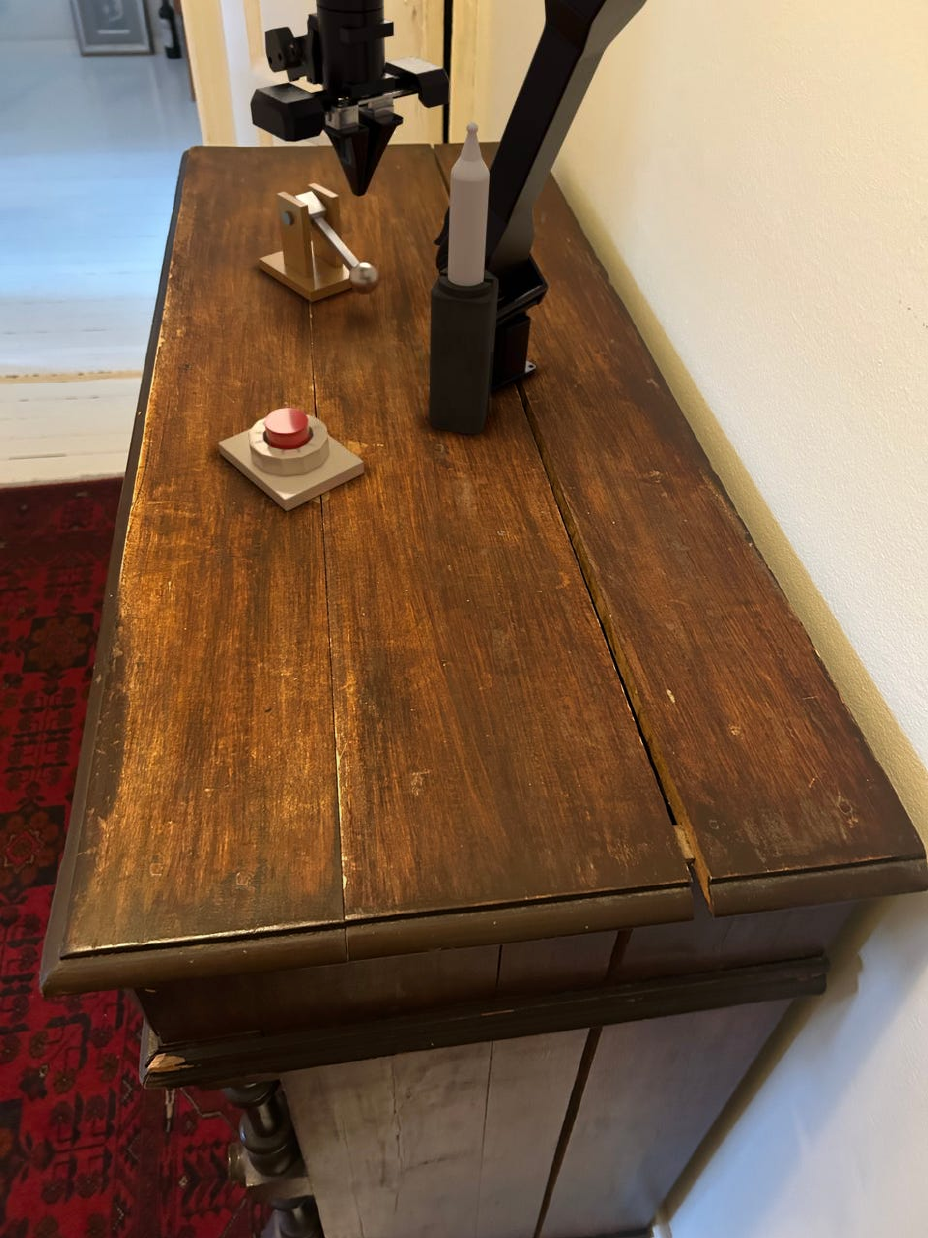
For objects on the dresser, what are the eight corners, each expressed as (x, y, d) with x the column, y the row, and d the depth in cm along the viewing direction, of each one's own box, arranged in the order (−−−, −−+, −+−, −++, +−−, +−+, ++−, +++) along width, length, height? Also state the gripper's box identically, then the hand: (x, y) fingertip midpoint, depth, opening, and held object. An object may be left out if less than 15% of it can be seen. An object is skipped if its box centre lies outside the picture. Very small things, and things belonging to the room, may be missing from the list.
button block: (364, 472, 74) (362, 443, 72) (286, 511, 71) (282, 482, 68) (296, 420, 79) (293, 391, 77) (220, 453, 75) (214, 424, 73)
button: (318, 439, 73) (317, 422, 72) (283, 456, 71) (280, 438, 70) (293, 420, 75) (291, 403, 73) (258, 436, 73) (255, 418, 72)
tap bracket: (369, 280, 98) (366, 200, 92) (311, 302, 94) (304, 220, 88) (317, 249, 103) (310, 170, 96) (259, 268, 99) (249, 188, 92)
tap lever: (381, 295, 94) (388, 273, 91) (357, 304, 92) (363, 282, 89) (311, 210, 96) (316, 186, 93) (287, 218, 94) (291, 193, 91)
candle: (481, 436, 79) (501, 137, 60) (426, 427, 79) (429, 129, 61) (491, 405, 82) (513, 114, 64) (438, 397, 83) (445, 106, 64)
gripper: (377, -29, 82) (381, 149, 93) (202, -4, 73) (231, 190, 84) (456, -3, 76) (450, 182, 88) (278, 28, 68) (297, 230, 79)
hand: (358, 194), depth 85 cm, fingers closed
